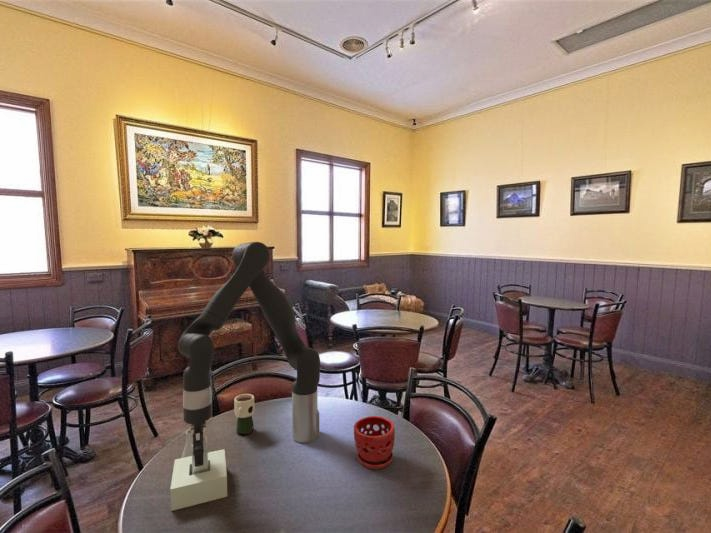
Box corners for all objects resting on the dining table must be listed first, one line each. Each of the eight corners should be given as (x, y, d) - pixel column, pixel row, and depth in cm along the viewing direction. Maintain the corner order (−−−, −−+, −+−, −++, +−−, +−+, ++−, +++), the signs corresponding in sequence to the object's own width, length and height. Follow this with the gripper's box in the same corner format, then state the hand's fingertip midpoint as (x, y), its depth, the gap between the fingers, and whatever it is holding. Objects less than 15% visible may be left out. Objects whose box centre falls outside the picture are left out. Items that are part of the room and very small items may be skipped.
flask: (194, 469, 112) (193, 438, 111) (174, 466, 113) (173, 435, 112) (208, 455, 119) (207, 426, 118) (189, 453, 120) (188, 424, 120)
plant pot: (365, 445, 125) (365, 411, 124) (400, 455, 118) (400, 420, 118) (346, 465, 113) (346, 429, 112) (384, 478, 107) (384, 440, 106)
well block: (225, 467, 112) (224, 449, 112) (227, 496, 100) (226, 475, 99) (175, 478, 107) (174, 459, 107) (171, 511, 94) (170, 489, 94)
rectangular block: (208, 481, 106) (206, 435, 105) (208, 489, 102) (207, 442, 101) (193, 484, 104) (191, 438, 103) (193, 493, 101) (191, 445, 100)
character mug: (249, 439, 128) (249, 404, 128) (230, 439, 129) (229, 404, 128) (258, 424, 139) (258, 391, 138) (240, 423, 139) (240, 391, 139)
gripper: (212, 410, 96) (213, 468, 98) (211, 390, 110) (213, 441, 111) (181, 416, 94) (183, 475, 95) (184, 394, 107) (186, 446, 108)
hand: (199, 456), depth 103 cm, fingers open, 8 cm apart
